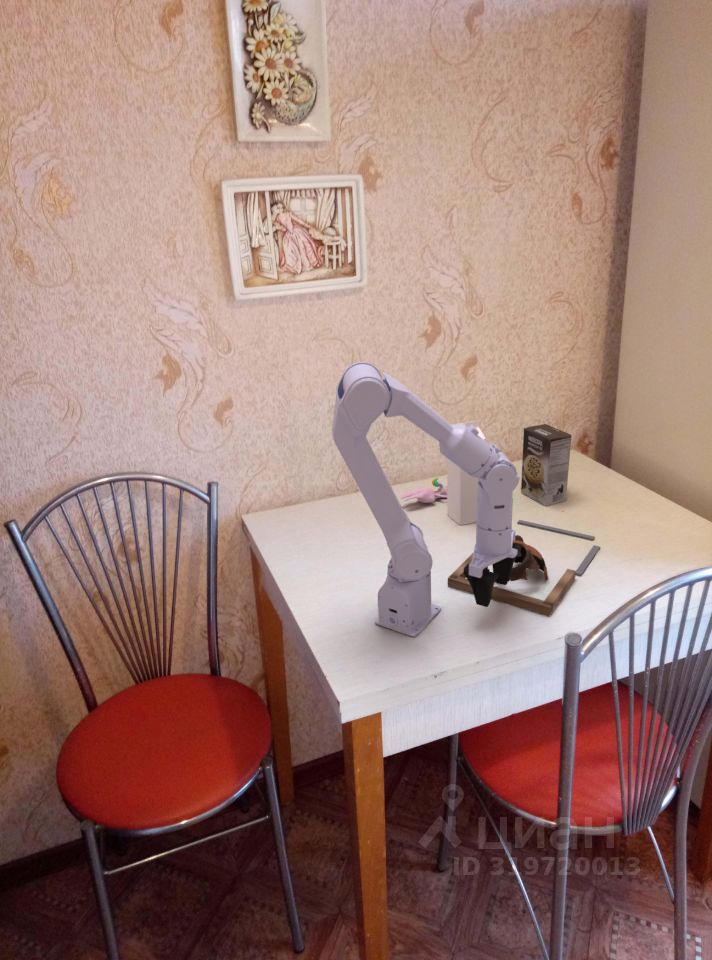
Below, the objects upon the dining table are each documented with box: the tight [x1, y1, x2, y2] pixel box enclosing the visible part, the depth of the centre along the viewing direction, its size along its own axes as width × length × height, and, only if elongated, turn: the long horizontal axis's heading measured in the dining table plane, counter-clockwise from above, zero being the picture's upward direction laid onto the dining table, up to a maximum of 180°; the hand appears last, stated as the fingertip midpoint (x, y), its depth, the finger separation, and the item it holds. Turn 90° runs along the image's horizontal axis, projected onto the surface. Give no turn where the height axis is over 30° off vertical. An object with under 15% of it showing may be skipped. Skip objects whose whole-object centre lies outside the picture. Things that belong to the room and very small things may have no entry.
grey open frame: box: [516, 519, 601, 577], centre depth 136 cm, size 16×20×1 cm
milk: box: [446, 420, 487, 526], centre depth 145 cm, size 6×6×22 cm
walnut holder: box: [447, 551, 576, 617], centre depth 124 cm, size 14×19×2 cm
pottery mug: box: [508, 534, 549, 583], centre depth 126 cm, size 12×10×8 cm
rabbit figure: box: [400, 477, 447, 504], centre depth 157 cm, size 6×6×15 cm
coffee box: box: [520, 423, 572, 507], centre depth 154 cm, size 9×6×16 cm
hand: (491, 593), depth 117 cm, fingers open, 7 cm apart
